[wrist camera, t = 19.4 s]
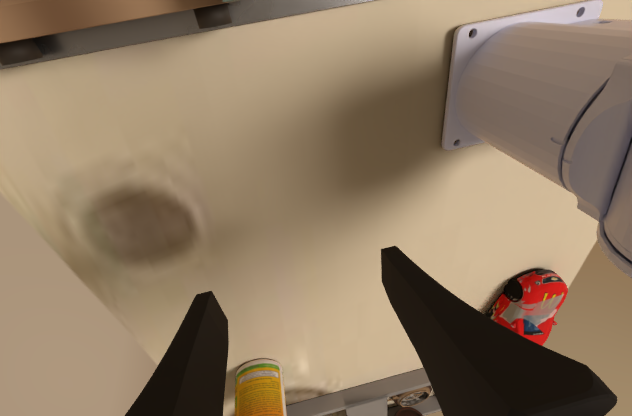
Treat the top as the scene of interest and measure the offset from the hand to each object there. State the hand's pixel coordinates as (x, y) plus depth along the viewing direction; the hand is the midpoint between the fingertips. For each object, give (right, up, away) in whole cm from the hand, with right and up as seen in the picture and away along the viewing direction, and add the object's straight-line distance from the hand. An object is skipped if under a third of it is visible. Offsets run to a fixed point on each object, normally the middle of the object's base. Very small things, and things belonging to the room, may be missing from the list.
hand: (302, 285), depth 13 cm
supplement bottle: (-6, -16, +23) cm, 28 cm away
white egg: (0, -28, +33) cm, 44 cm away
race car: (+25, -10, +26) cm, 37 cm away
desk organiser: (+8, -27, +33) cm, 43 cm away
